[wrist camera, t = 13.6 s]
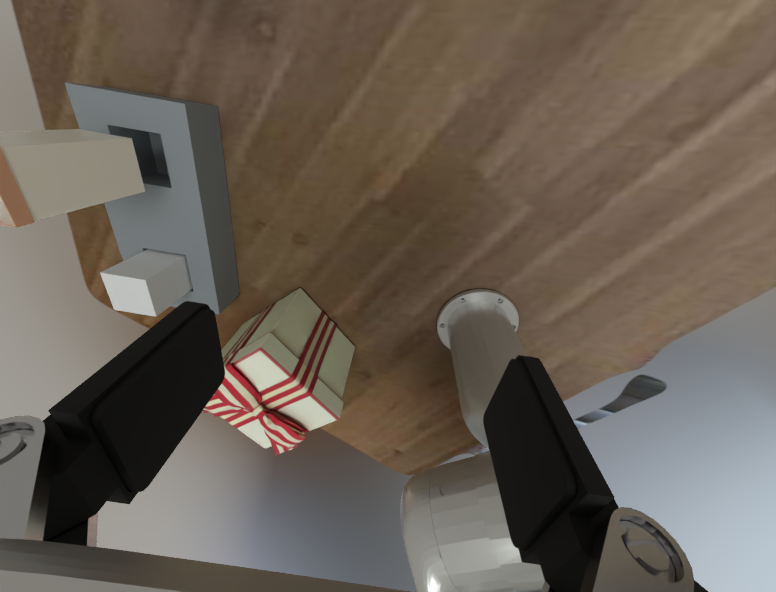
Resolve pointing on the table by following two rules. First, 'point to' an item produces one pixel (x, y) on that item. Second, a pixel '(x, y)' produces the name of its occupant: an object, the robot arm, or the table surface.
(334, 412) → the gift box
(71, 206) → the cream plug
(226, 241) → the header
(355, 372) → the table surface
